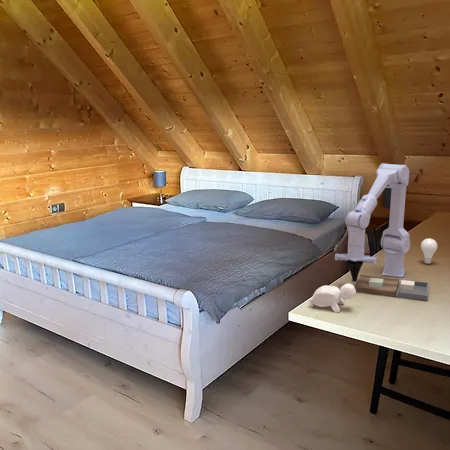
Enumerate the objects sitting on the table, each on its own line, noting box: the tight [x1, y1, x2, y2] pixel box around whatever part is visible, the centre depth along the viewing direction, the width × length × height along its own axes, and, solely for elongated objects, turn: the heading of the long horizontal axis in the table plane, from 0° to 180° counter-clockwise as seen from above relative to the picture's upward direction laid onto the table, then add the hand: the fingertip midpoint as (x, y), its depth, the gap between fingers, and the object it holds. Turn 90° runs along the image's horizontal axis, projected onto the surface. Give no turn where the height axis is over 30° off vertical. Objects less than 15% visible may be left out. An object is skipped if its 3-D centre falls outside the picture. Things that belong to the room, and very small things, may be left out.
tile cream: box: [400, 279, 416, 291], centre depth 172 cm, size 4×4×2 cm
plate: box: [353, 274, 400, 298], centre depth 174 cm, size 14×14×2 cm
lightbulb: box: [420, 237, 438, 265], centre depth 199 cm, size 6×6×11 cm
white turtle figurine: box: [308, 283, 357, 313], centre depth 157 cm, size 9×8×15 cm
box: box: [395, 279, 430, 302], centre depth 169 cm, size 14×10×2 cm
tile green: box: [369, 278, 384, 288], centre depth 171 cm, size 4×4×2 cm
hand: (354, 280), depth 174 cm, fingers closed
